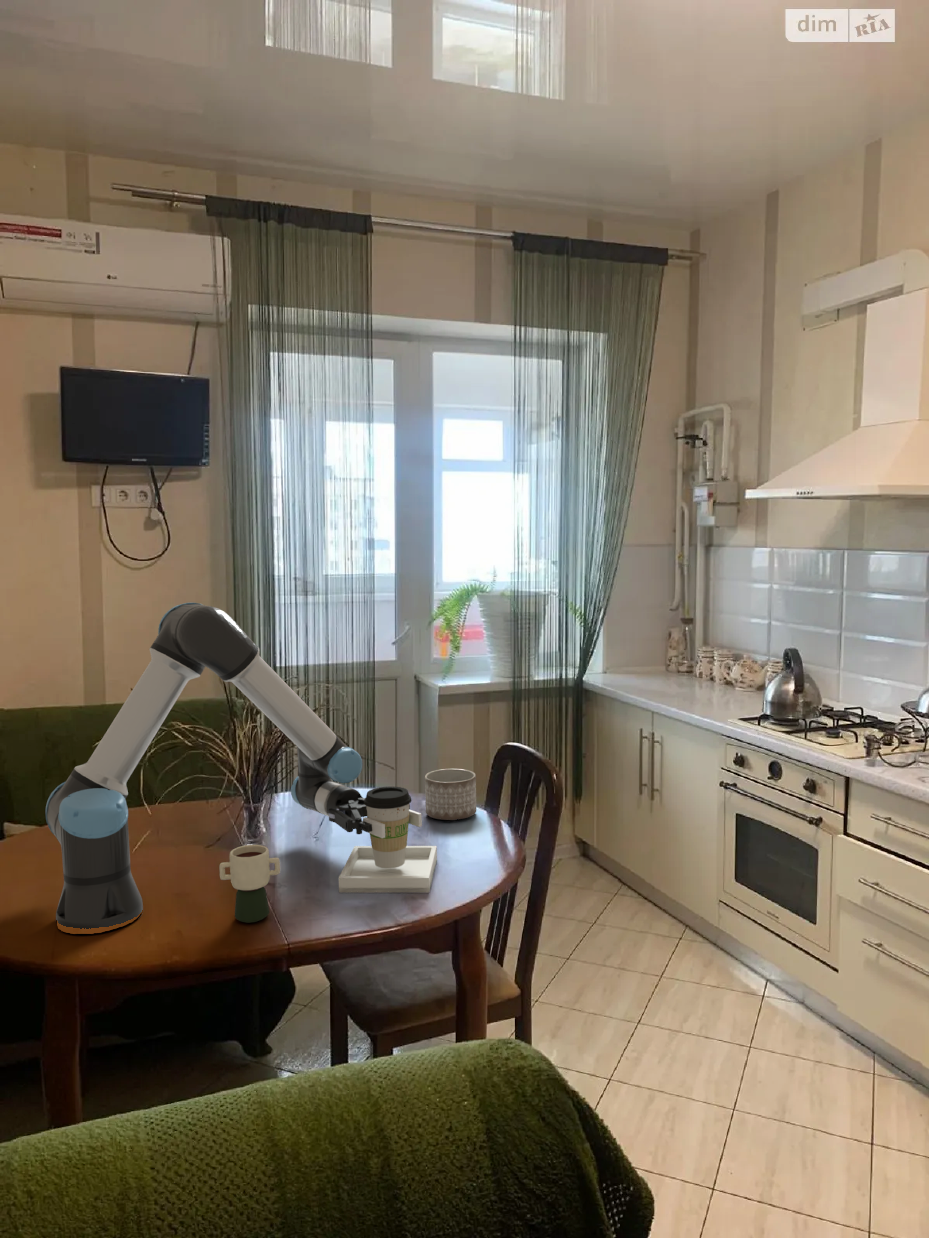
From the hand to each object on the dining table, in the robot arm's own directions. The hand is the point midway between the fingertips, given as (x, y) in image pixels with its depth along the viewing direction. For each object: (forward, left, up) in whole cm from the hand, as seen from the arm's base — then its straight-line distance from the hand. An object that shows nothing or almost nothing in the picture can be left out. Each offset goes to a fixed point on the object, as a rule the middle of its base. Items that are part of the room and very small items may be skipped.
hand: (402, 825), depth 182 cm
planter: (+42, -7, -12) cm, 44 cm away
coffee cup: (+3, +3, -9) cm, 10 cm away
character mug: (-18, +26, -12) cm, 34 cm away
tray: (+3, +3, -12) cm, 13 cm away
